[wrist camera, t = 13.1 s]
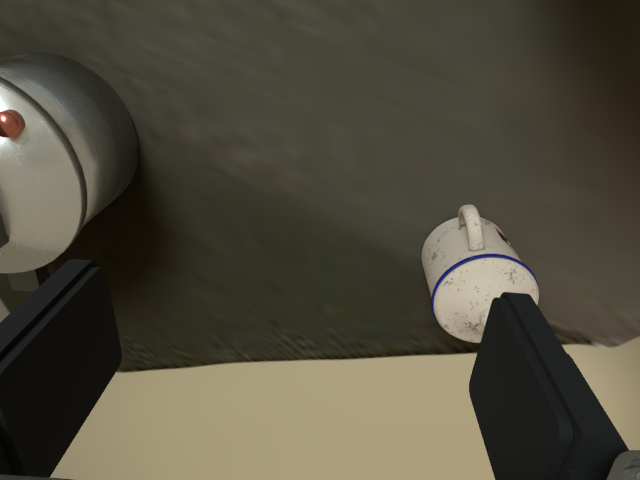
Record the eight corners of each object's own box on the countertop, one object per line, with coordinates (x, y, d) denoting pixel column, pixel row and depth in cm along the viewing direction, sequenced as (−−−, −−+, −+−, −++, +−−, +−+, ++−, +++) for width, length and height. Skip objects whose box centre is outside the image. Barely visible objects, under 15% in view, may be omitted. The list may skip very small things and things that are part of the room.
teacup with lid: (510, 281, 49) (553, 357, 38) (424, 294, 50) (443, 370, 40) (505, 177, 43) (554, 232, 33) (409, 194, 45) (427, 252, 35)
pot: (-54, -1, 39) (-188, -1, 29) (120, 10, 39) (43, 13, 29) (15, 234, 50) (-67, 292, 40) (151, 245, 49) (103, 305, 39)
